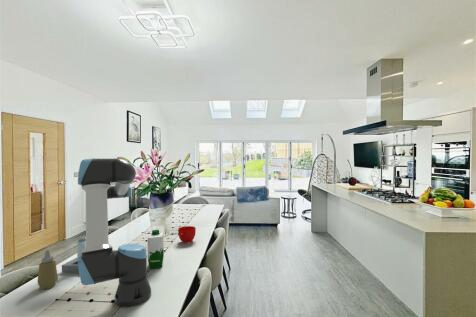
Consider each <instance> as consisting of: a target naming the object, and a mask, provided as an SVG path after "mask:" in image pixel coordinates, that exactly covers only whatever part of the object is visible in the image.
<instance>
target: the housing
mask: <svg viewBox="0 0 476 317" xmlns="http://www.w3.org/2000/svg"><path fill="white" fill-rule="evenodd" d="M113 251H116V250H114V249H113ZM61 273H62V274H63V273H65V274H67V273H68V274H69V273H70V274H79V268H78V264H77V257H76V258H72V260H69V261H67V262H66V263H63V264H62V265H61Z"/></svg>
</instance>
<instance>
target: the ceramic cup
mask: <svg viewBox="0 0 476 317" xmlns="http://www.w3.org/2000/svg"><path fill="white" fill-rule="evenodd" d="M196 230H197V229H196V227H195V226H192V225H191V226H190V225H186V226H181V227H178V229H177V234H178V239H180V241H181V243H183V242H184V243H183V244H189V243H188V242H190V243H192V242H193V240H194V239H195V237H196ZM191 241H192V242H191Z"/></svg>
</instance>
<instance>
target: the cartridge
mask: <svg viewBox="0 0 476 317" xmlns="http://www.w3.org/2000/svg"><path fill="white" fill-rule="evenodd" d="M85 248H86V237H81V238H78V239H77V241H76V253H77V257H76V258H77V264H78V257H80V256H81V257H82V251H83V250H84V249H85Z"/></svg>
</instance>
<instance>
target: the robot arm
mask: <svg viewBox="0 0 476 317" xmlns="http://www.w3.org/2000/svg"><path fill="white" fill-rule="evenodd" d="M136 173H137V172H136V169H135V167H134V166H133V164H131V163H130V162H129V161H127V160H125V159H122V158H118V157H117V158H116V157H115V158H84V159H82V160H81V161H80V164H79V168H78V174H77V184H78V185H79V186H81V189H82V191H84V192H85V238H86V248H85V249H84V250H83V251H82V257H81V256H80V257H78V268H79V273H78V275H79V280H80V283H81V284H82V286H90V285H96V284H99V283H105V282H108V281H112V280H117V279H118V286H117V287H116V288H117V289H116V290H115V293H114V294H115V295H114V303H115V305H117V306H119V307H122V308H128V307H135V306H139V305H141V304H143V303H145V302H146V301H148V300H149V299H150V298H151V296H152V288H151V285H150V282H149V279H148V269H147V268H148V267H147V266H148V265H147V264H148V263H147V261H148V253H147V248H146V247H145V245H143V244H140V243H126V244H125V243H124V244H120V246H118V248H117V250H115V251H113V250H114V247H113V246H112V245H111V244H110V243H109V215H108V214H109V212H108V208H109V207H108V200H109V199H111V200H113V199H121V198H123V199H124V198H129V197H131V196H132V187H131V183H133V182H134V180H135V178H136V175H137V174H136ZM113 183H115V185H111V184H113Z"/></svg>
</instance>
